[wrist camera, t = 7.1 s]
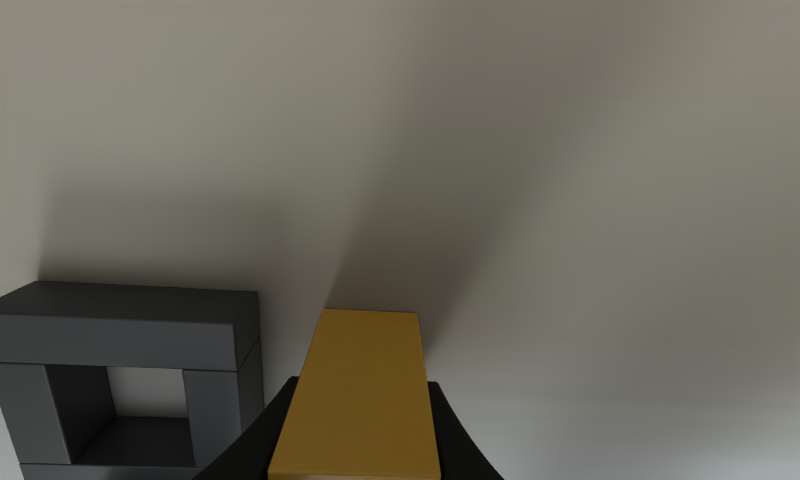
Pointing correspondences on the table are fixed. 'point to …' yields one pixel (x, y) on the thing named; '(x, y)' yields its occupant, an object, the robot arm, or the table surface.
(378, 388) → the ochre peg
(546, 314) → the table surface
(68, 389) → the holder
